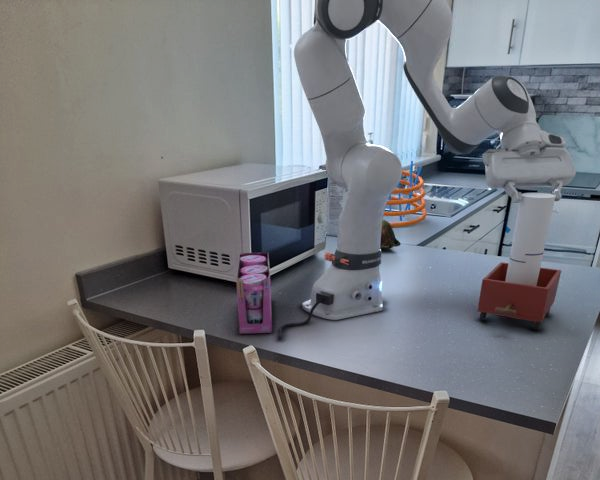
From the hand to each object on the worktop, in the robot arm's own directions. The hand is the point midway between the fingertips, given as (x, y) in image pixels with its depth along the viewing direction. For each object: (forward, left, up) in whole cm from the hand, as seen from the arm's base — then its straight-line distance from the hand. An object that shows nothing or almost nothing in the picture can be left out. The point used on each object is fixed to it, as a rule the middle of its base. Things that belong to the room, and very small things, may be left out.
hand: (537, 200), depth 120 cm
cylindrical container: (0, 0, -24) cm, 24 cm away
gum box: (-49, +42, -28) cm, 71 cm away
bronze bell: (+21, +70, -28) cm, 78 cm away
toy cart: (-2, -1, -28) cm, 28 cm away
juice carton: (+26, +99, -28) cm, 106 cm away
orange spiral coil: (+63, +105, -28) cm, 125 cm away
